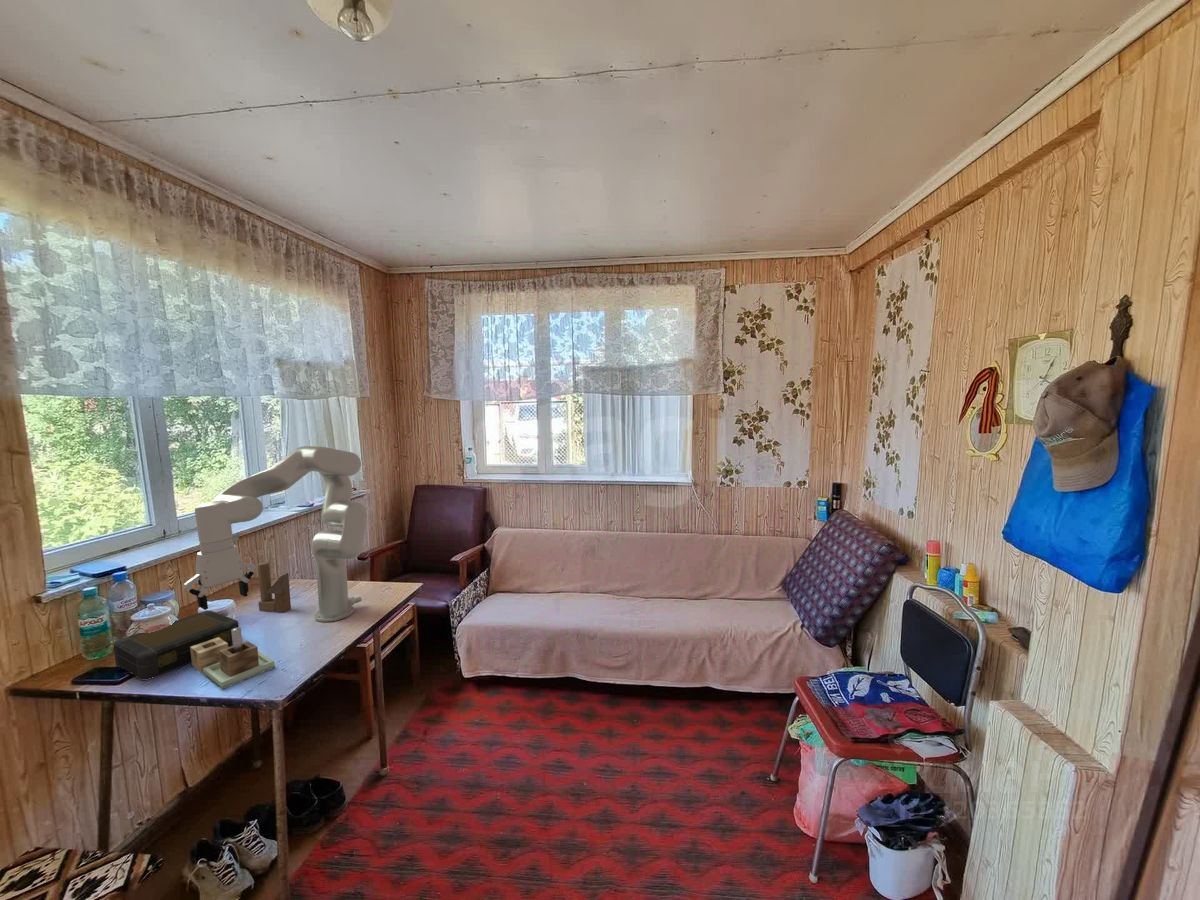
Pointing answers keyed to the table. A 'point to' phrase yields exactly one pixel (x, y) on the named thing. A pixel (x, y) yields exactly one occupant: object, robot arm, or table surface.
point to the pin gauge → (237, 640)
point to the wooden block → (273, 591)
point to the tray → (224, 680)
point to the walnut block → (238, 659)
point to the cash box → (171, 644)
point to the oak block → (207, 653)
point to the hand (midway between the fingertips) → (224, 601)
